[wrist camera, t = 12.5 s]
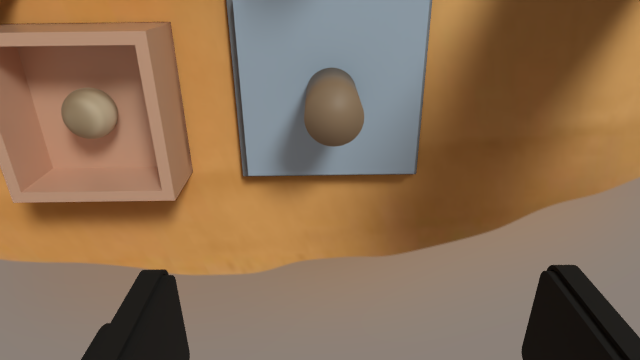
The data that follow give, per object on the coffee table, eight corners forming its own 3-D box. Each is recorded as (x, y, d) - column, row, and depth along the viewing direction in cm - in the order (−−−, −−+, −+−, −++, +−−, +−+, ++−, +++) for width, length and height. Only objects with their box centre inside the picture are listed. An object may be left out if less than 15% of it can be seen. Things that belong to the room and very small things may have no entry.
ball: (120, 81, 32) (98, 94, 29) (130, 128, 34) (110, 146, 30) (71, 82, 32) (43, 95, 29) (83, 129, 34) (58, 146, 30)
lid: (426, -7, 30) (456, -1, 23) (411, 168, 35) (432, 211, 29) (234, -5, 30) (212, 2, 23) (249, 170, 35) (235, 214, 29)
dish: (170, 21, 31) (145, 31, 27) (192, 171, 36) (175, 200, 32) (5, 24, 31) (-48, 33, 26) (51, 173, 36) (13, 202, 32)
